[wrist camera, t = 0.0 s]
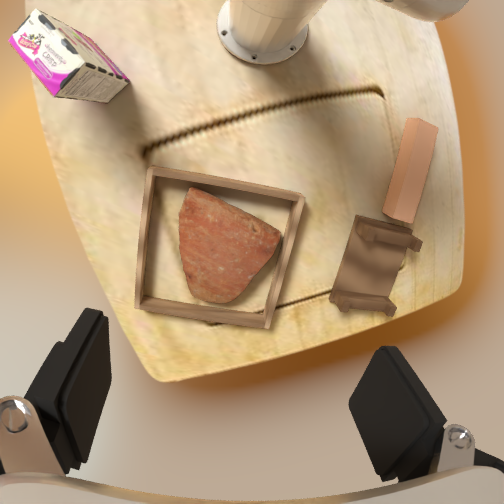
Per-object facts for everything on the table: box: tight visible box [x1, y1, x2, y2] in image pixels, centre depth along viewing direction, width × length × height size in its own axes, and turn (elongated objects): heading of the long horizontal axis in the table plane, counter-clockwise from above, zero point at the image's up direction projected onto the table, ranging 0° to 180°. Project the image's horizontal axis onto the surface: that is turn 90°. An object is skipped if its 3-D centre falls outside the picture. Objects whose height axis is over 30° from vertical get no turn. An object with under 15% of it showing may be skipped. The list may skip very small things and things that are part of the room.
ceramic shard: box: [179, 187, 281, 304], centre depth 46 cm, size 15×6×15 cm
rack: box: [329, 215, 423, 317], centre depth 49 cm, size 15×11×5 cm
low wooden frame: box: [134, 166, 305, 329], centre depth 46 cm, size 22×22×3 cm
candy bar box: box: [8, 9, 130, 103], centre depth 28 cm, size 11×5×16 cm, turn 39°
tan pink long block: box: [382, 118, 438, 224], centre depth 44 cm, size 16×4×4 cm, turn 167°
